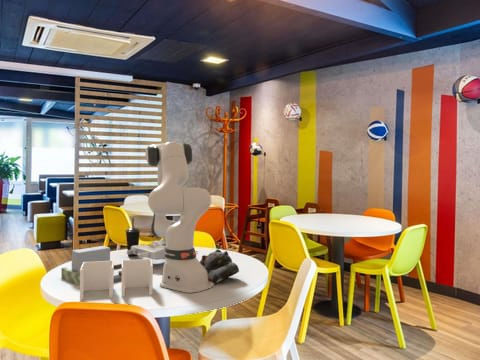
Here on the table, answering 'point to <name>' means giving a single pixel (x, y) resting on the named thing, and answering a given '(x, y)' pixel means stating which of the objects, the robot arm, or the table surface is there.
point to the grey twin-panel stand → (103, 275)
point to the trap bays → (118, 277)
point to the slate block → (89, 256)
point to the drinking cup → (132, 237)
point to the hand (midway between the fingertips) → (133, 254)
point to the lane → (77, 274)
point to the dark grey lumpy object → (219, 266)
